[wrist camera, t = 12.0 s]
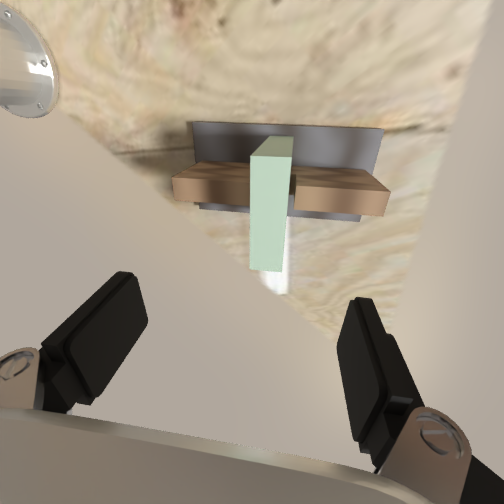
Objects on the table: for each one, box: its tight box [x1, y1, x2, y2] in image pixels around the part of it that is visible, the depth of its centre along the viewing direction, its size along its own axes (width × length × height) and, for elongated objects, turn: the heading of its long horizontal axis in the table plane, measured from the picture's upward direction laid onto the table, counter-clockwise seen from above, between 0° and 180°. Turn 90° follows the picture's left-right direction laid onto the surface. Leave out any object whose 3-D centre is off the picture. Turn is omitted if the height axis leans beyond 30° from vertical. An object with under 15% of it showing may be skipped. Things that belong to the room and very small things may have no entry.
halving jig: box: [171, 122, 391, 222], centre depth 30 cm, size 24×12×12 cm, turn 89°
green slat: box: [250, 136, 294, 272], centre depth 27 cm, size 3×10×16 cm, turn 0°
